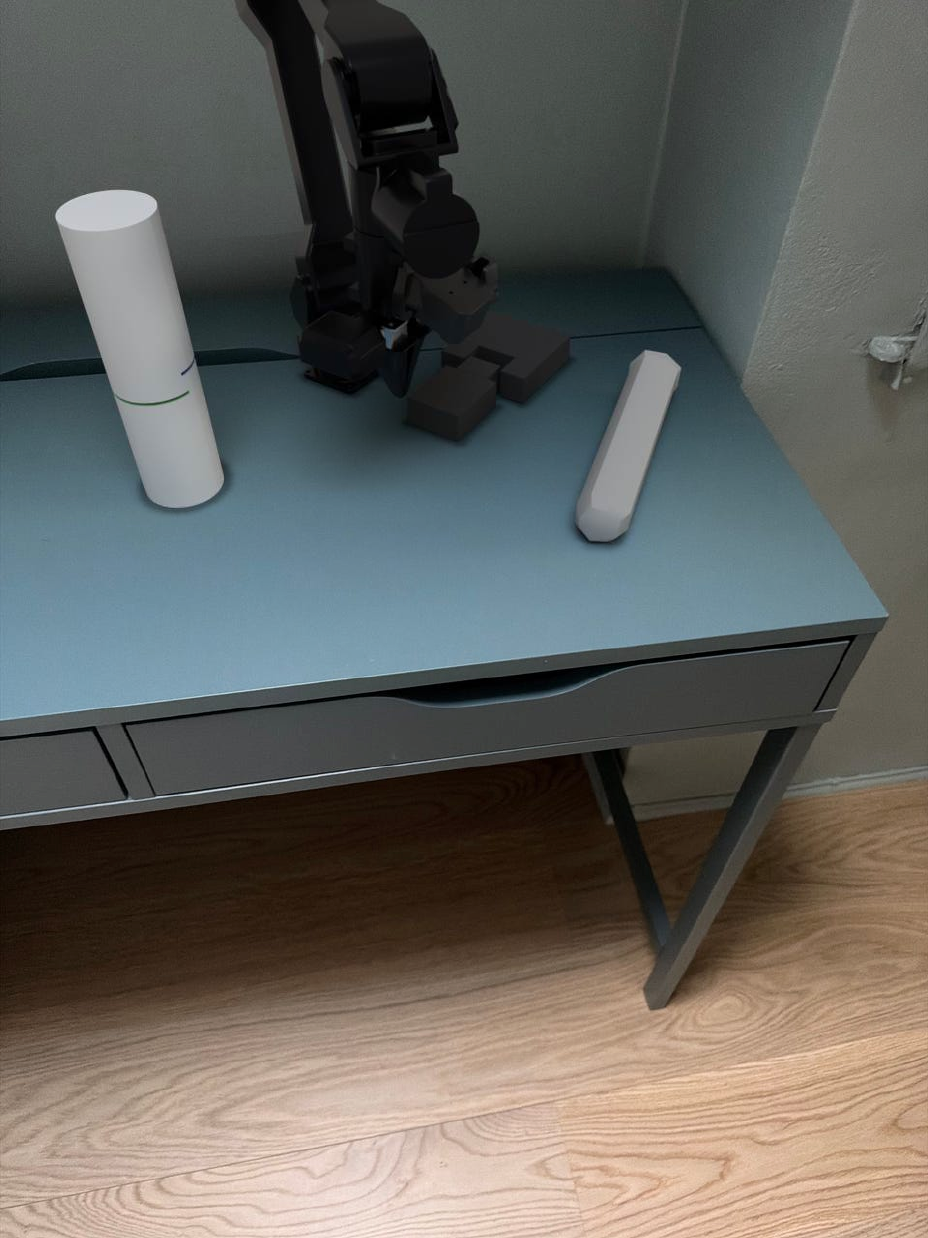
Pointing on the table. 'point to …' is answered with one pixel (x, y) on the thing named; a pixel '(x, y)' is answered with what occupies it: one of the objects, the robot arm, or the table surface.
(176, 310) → the cylindrical container
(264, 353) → the table surface
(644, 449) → the tube
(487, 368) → the pad
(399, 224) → the robot arm
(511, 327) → the notch pad
